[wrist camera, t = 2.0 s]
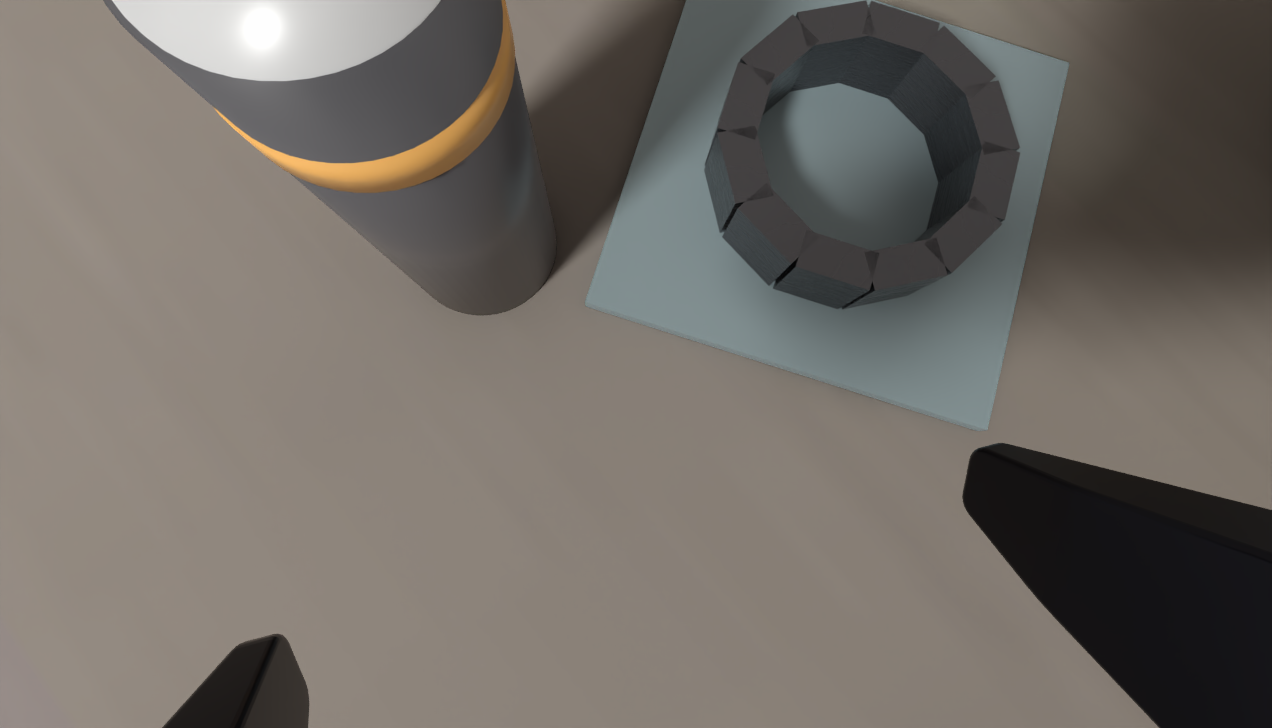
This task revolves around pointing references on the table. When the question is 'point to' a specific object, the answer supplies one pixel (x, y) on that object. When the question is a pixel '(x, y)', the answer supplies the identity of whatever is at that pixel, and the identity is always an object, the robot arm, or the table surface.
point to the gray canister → (382, 125)
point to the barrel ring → (924, 92)
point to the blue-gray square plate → (823, 221)
